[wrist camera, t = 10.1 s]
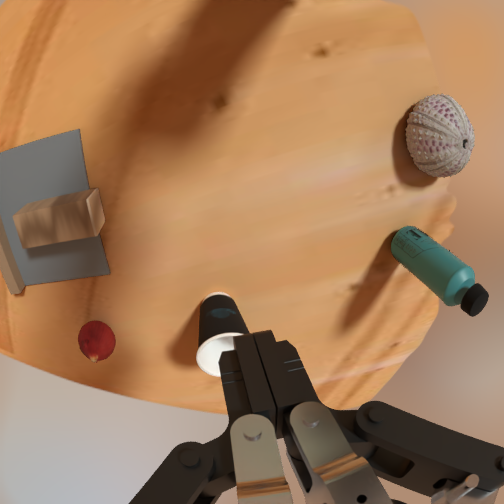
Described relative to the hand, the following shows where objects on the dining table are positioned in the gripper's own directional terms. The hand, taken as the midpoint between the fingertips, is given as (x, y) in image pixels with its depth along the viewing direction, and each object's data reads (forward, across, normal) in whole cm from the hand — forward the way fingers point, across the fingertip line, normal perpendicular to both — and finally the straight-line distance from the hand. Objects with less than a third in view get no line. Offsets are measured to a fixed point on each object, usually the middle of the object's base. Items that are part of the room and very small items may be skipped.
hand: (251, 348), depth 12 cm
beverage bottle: (+29, -31, +13) cm, 45 cm away
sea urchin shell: (+29, -35, -5) cm, 46 cm away
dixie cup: (+29, 0, +20) cm, 35 cm away
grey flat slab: (+29, +22, +2) cm, 36 cm away
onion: (+29, +19, +21) cm, 41 cm away
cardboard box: (+26, +13, +2) cm, 29 cm away
